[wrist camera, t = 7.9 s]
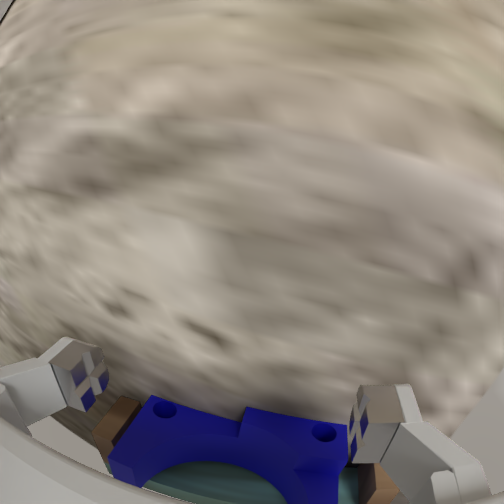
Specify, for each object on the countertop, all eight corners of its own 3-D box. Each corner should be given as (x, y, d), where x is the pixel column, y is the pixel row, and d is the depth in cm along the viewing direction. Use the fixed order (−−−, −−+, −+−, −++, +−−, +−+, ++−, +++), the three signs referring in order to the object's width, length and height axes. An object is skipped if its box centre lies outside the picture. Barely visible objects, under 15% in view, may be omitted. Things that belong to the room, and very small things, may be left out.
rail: (121, 395, 18) (91, 432, 15) (393, 439, 16) (401, 487, 12) (132, 438, 20) (109, 473, 16) (371, 478, 17) (373, 522, 13)
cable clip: (346, 423, 16) (348, 505, 10) (323, 464, 17) (318, 536, 12) (152, 376, 18) (102, 441, 12) (154, 422, 19) (115, 482, 13)
